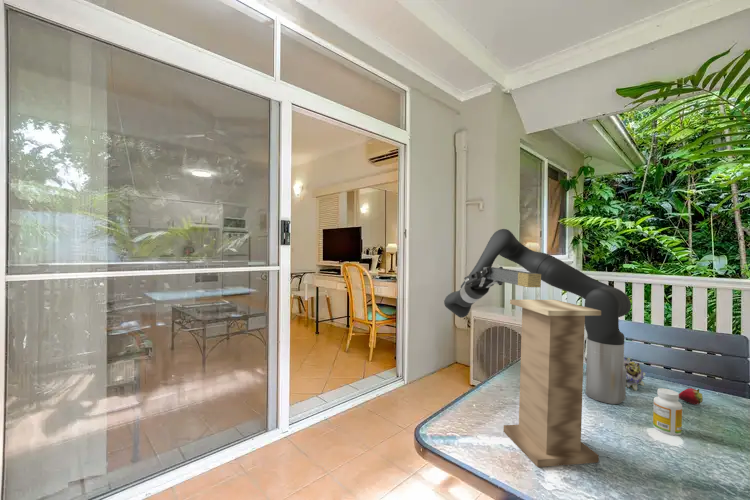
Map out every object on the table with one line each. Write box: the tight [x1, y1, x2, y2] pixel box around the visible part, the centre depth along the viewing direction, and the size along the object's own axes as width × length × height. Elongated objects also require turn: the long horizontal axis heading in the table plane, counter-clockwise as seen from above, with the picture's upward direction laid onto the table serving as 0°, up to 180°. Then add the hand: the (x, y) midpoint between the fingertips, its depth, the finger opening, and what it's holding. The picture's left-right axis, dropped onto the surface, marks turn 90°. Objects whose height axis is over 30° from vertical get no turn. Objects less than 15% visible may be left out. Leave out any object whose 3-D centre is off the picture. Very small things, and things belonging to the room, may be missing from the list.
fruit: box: [678, 388, 704, 405], centre depth 98 cm, size 4×6×5 cm
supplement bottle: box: [652, 387, 683, 436], centre depth 82 cm, size 5×5×10 cm
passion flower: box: [624, 357, 646, 392], centre depth 110 cm, size 11×11×12 cm
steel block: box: [483, 266, 542, 288], centre depth 97 cm, size 4×24×4 cm, turn 9°
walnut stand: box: [503, 299, 601, 468], centre depth 74 cm, size 14×14×32 cm
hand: (496, 269), depth 104 cm, fingers closed on steel block, 3 cm apart
